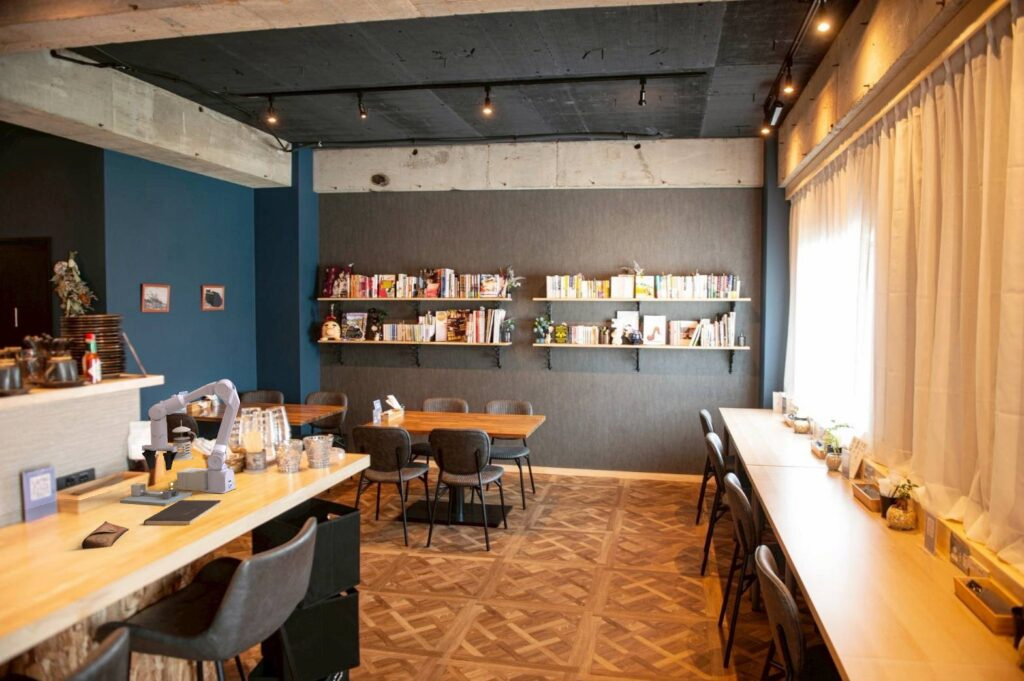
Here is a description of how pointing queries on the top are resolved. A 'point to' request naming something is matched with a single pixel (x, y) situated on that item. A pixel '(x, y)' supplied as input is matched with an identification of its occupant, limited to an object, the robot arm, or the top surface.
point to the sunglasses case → (103, 536)
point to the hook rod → (142, 490)
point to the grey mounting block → (170, 493)
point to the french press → (182, 444)
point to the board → (154, 499)
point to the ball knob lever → (173, 484)
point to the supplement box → (193, 479)
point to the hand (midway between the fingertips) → (160, 469)
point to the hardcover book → (183, 512)
